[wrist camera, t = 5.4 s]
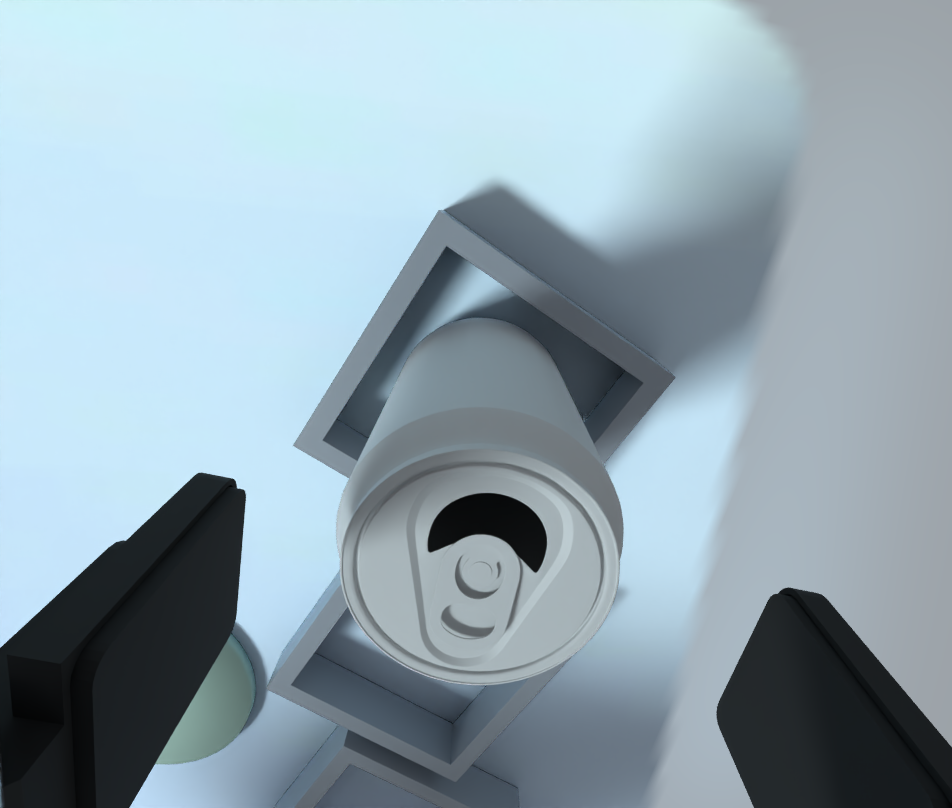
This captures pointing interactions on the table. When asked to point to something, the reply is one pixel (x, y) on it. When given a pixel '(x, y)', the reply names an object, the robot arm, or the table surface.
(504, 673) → the beverage can
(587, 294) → the table surface
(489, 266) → the tray
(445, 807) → the tray
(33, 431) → the table surface
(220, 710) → the coaster
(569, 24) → the table surface
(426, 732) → the tray
